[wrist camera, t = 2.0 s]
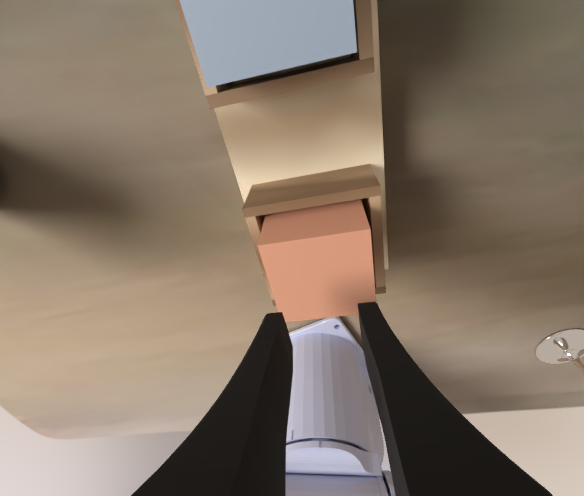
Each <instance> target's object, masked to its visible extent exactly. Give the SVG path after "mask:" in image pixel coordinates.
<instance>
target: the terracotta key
mask: <svg viewBox="0 0 584 496" xmlns="http://www.w3.org/2000/svg"><path fill="white" fill-rule="evenodd" d="M258 249H259V252H260V255H261V259H262V262H263V265H264V268H265V271H266V274H267V277H268V281H269V284H270V287H271V290H272V293H273V296H274V300H275V303H276V306H277V309H278V312H282V313H283V316H284V319H285V322H292V321H302V320H311V319H320V318H329V317H339V316H348V315H357V314H359V312H358V304H357V303H366V302H376V295H375V282H374V268H373V255H372V242H371V229H370V226H369V223H368V220H367V217H366V214H365V211H364V208H363V205H362V202H361V199H357V200H351V201H345V202H338V203H332V204H326V205H320V206H314V207H308V208H302V209H296V210H290V211H284V212H278V213H272V214H266V215H265V219H264V223H263V226H262V230H261V234H260V238H259V242H258Z"/></svg>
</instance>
